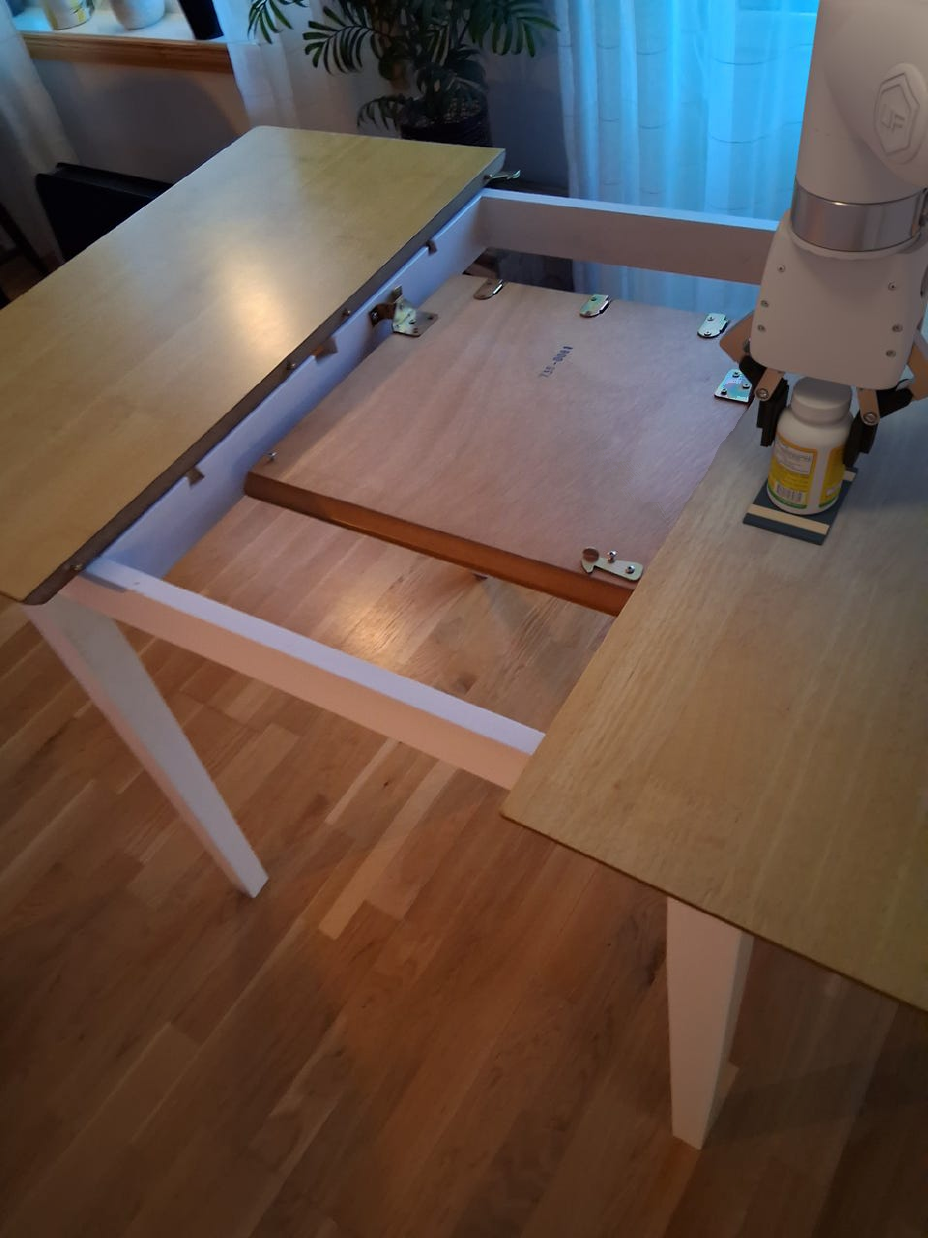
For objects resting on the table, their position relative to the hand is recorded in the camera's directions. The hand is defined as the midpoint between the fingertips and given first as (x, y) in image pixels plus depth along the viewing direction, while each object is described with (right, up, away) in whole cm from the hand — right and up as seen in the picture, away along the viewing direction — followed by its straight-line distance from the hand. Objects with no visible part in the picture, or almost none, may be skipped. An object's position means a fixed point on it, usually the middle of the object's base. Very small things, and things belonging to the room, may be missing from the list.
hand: (811, 443), depth 68 cm
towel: (+1, -3, +4) cm, 5 cm away
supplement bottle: (+1, -3, +4) cm, 5 cm away
